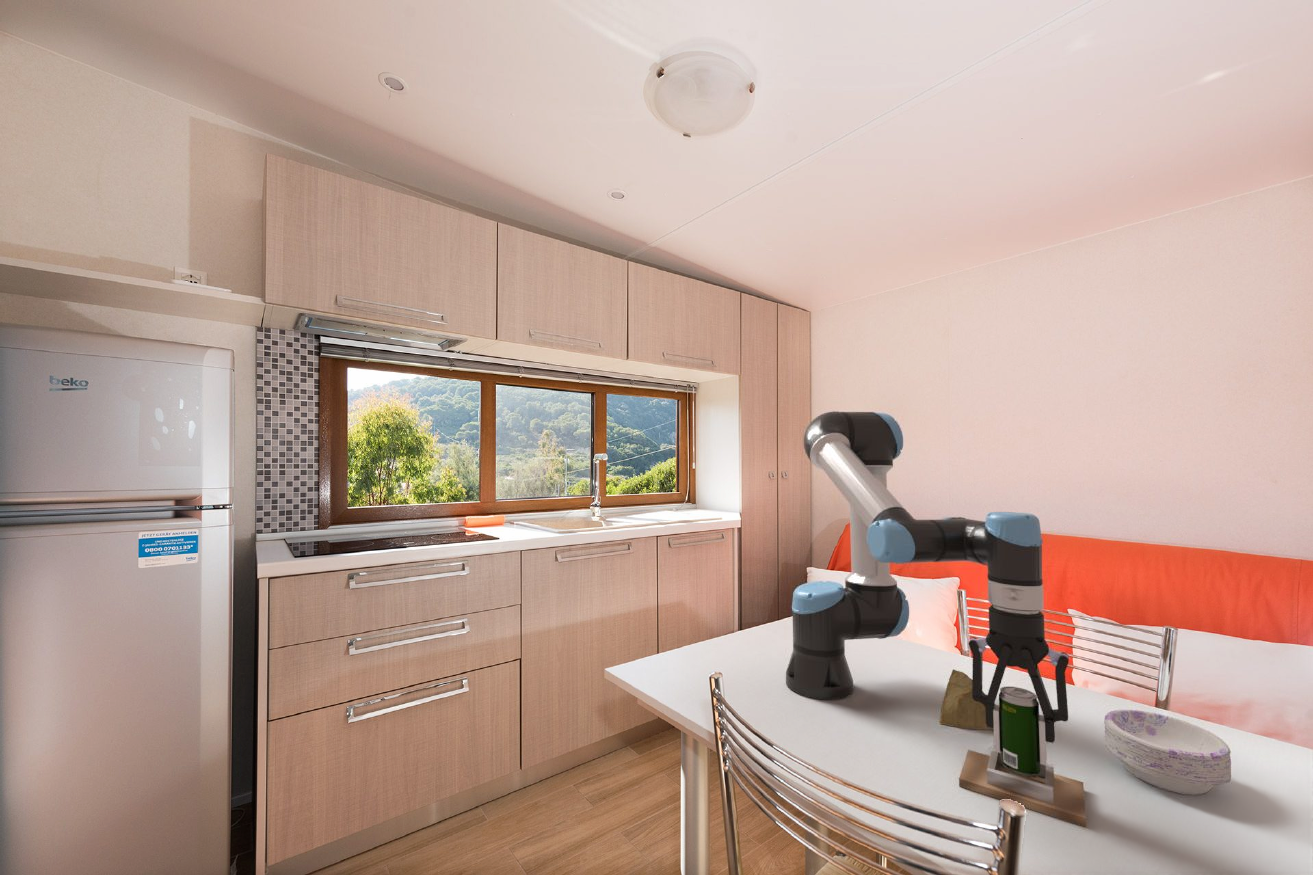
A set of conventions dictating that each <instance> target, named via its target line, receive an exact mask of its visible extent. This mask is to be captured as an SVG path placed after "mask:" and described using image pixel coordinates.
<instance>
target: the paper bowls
mask: <svg viewBox="0 0 1313 875" xmlns="http://www.w3.org/2000/svg"><path fill="white" fill-rule="evenodd" d="M1103 718H1104V719H1103V720H1104V721H1103V724H1104V743H1105V746H1106V749H1107V750H1108V751H1109V752H1110V753H1111V754H1112V755H1113V756H1114V757H1115V758H1117V759H1118V760H1120V761H1121V762H1122V765H1123V766H1124V767H1125V768H1126V769H1127V771H1128V772H1130V773H1131V775H1133V776H1134V777H1136V778H1137V779H1139V780H1142V781H1143V782H1145V783H1147V784H1150V785H1151V786H1154V787H1157V788H1158V789H1159V788H1160V789H1162V790H1165V791H1169V792H1173V793H1178V794H1183V795H1191V796H1192V795H1193V796H1194V795H1196V796H1197V795H1203V794H1206V793H1208V792H1209V791H1211V789H1212V788H1213V787H1219V786H1221V787H1222V786H1224V785H1227V784H1229V783H1230V782H1231V779H1232V760H1231V753H1232V752H1231V749H1230V747H1229V745H1228V744H1227V743H1226V742H1225V741H1224V740H1223V739H1222V738H1220V737H1219V736H1218V735H1216V734H1214V732H1211V731H1210V730H1207V729H1205V728H1202V727H1200V726H1198V725H1196V724H1193V723H1191V722H1189V721H1185V720H1182V719H1179V718H1176V717H1172V716H1169V715H1165V714H1162V713H1161V714H1160V713H1156V712H1150V711H1145V710H1138V709H1116V710H1111V711H1108V712H1107V713H1106V714H1105V715H1104V717H1103Z"/></svg>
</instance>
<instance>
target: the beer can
mask: <svg viewBox="0 0 1313 875" xmlns="http://www.w3.org/2000/svg"><path fill="white" fill-rule="evenodd" d="M999 690H1000V692H998V705H999V717H1000V753H1001V762H1002V764H1003V766H1004V768H1005V769H1006V770H1008V771H1009V772H1011V773H1013V774H1016V775H1018V776H1022V777H1027V778H1035V777H1037V776H1038V775H1039V773H1040V771H1041V764H1040V740H1039V715H1040V704H1039V701H1038V698H1037V695H1036V693H1034V692H1033V691H1031V690H1028V689H1025V688H1021V687H1017V686H1001V687H999Z"/></svg>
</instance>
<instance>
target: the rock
mask: <svg viewBox="0 0 1313 875" xmlns="http://www.w3.org/2000/svg"><path fill="white" fill-rule="evenodd" d="M982 693H984V691H983V690H982ZM984 694H985V693H984ZM940 709H941V710H940V717H939V722H938V723H939V724H940V725H942V726H943V725H944V726H946V725H947V726H950V727H955V728H960V729H969V730H982V731H986V730H993V731H994V728H991V727H987V725H986V711H985V706H984V705H983V704H982V703H980V702H977V701H974V700H973V698H972V678H971V677H970V676H969V675H967V674H966V673H964V672H963V671H960V670H957V669H952V671H951V674H950V676H949V678H948V681H947V684H946V688H945V692H944V697H943V700H942V702H941V708H940Z"/></svg>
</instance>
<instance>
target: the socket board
mask: <svg viewBox="0 0 1313 875" xmlns="http://www.w3.org/2000/svg"><path fill="white" fill-rule="evenodd" d="M963 762H964V763H963V765H962V768H961V771H960V775H959V777H958V783H959V784H958V786H959V787H960V788H964V789H967V790H969V791H972V792H976V793H979V794H981V795H984V796H985V795H986V796H989V797H992V798H994V799H998V800H1000V799H1011V800H1013V801H1017V802H1018V803H1021V805H1024V807H1023V808H1025V807H1026V809H1029V810H1031V811H1035V812H1038V813H1042V814H1045V815H1047V816H1051V817H1054V818H1057V819H1061V820H1063V821H1066V822H1069V823H1072V824H1076V825H1079V826H1082V827H1085V828H1087V814H1086V813H1087V812H1086V811H1087V810H1086V799H1085V789H1084V788H1085V787H1084V782H1083V781H1081V780H1076V779H1073V778H1070V777H1067V776H1062V775H1059V774H1056V773H1055V770H1054V769H1055V768H1054V767H1055V765H1054V764H1052V763H1049V762H1046V765H1043V764H1041V771H1040V773H1039V775H1038V776H1037V777H1035V778H1027V777H1022V776H1018V775H1016V774H1013V773H1011V772H1009V771H1008V770H1006V769H1005V768H1004V766H1003V764H1002V762H1001V753H999V752H996V751H994V747H992V748H991V750H990V755H989V754H984V753H981V752H979V751H974V750H970V749H967V753H966V755H965V759H964V761H963Z"/></svg>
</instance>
